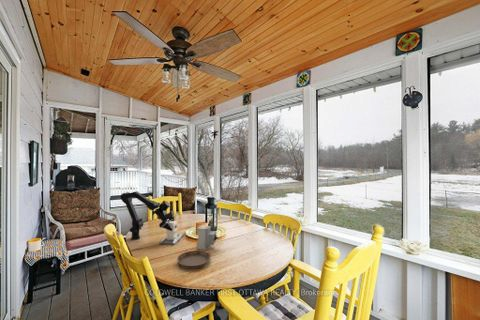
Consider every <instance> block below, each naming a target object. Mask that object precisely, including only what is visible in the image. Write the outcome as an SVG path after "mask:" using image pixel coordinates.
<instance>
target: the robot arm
mask: <svg viewBox="0 0 480 320" xmlns="http://www.w3.org/2000/svg"><path fill="white" fill-rule="evenodd" d="M119 197H120V200H121V202H123V203H124V204H125V206H126V209H127V211H128V213H129V216H130V218H131V226H132V227H130V228H129V233H131V237H130V240H140V238H141V236H140V230H142V228H143V226H144V223H145V222H144V221H143V218H142V217H141V218H140V217H139V215H138V213H137V211H136V208H135V206H134V204H133V198H135V199H137V200H138V201H140V202H142V204H144V205H145V206H146V208H148V209H149V210H150V211H152V215H156V216H157V217H158V220H161V222H160V223H159V225H158V227H160V229H166V230H167V229H168V230H170V231H172V228H171V227H170V226H169V222H170V221H175V219H176V217H175V211H174V210H173V209H172V210H170V211H169V212H168V213H167V212H166V211H167V210H168V209H169V208H170V207H171V204H170V202H168V201H166V200H165V199H164V200H163V201H162V202H161V203H158V202H157V201H155V200H152V199H149V198H148V197H146V196H145V195H143V194H141V193H140V192H139V191H132V192H128V191H127V192H123V193H120V196H119Z"/></svg>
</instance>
